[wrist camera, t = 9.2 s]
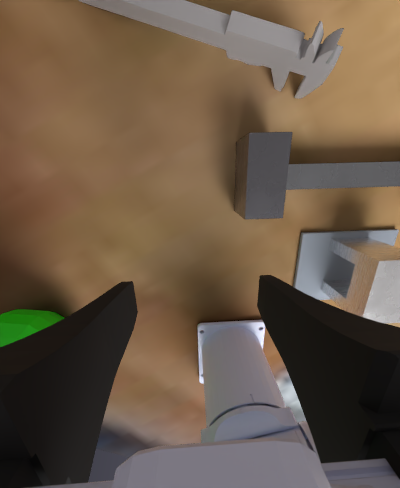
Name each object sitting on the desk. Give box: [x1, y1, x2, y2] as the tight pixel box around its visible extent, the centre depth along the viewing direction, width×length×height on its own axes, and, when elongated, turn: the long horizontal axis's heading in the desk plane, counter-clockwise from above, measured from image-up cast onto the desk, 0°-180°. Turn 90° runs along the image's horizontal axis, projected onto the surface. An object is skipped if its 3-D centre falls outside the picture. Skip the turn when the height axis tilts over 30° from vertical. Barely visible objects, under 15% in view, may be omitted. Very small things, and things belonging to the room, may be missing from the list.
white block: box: [321, 238, 400, 323], centre depth 19 cm, size 6×4×6 cm, turn 1°
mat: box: [293, 229, 399, 300], centre depth 22 cm, size 8×10×1 cm
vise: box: [234, 132, 400, 219], centre depth 17 cm, size 6×20×4 cm, turn 91°
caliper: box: [78, 0, 344, 98], centre depth 12 cm, size 20×1×6 cm, turn 71°
